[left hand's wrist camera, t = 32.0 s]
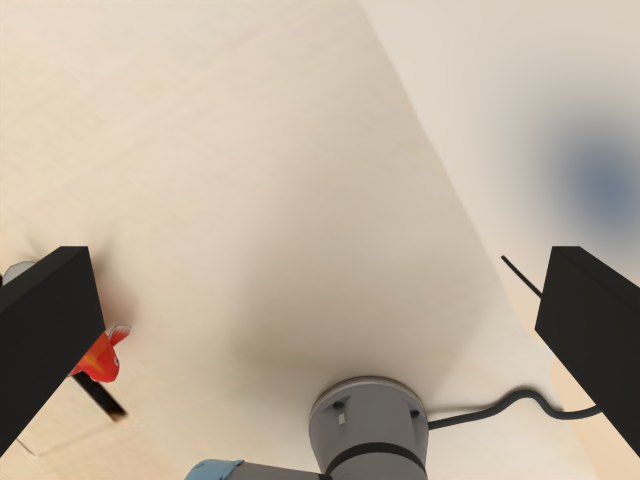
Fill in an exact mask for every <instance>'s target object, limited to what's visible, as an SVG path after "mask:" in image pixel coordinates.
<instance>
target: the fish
mask: <svg viewBox="0 0 640 480" xmlns="http://www.w3.org/2000/svg"><path fill="white" fill-rule="evenodd" d="M34 264H36V263H35V262H21V263H18V264H15V265H12V266H10V267H9V269H8V270H7V271H6V273H5V275H4V277H3V283H2V286H3V285H5V284H6V283H8V282H9V281H11V280H12V279H14V278H15V277H17V276H18V275H19V274H21V273H22V272H24V271H25V270H27V269H28V268H30V267H31V266H33V265H34ZM130 329H131V328H130V327H128V326H124V325H117V326H116V327H115V328H114V329H113V330H112V331H111V333H110V334H109V336H107V335H106V333H105V332H103V333H102V334H101V336H100V337H99V338H98V339H97V341H96V342H95V343H94V344H93V345H92V347H91V348H90V349H89V350H88V352H87V353H86V354H85V355H84V356H83V358H82V359H81V360H80V361H79V362H78V364H77V365H76V366H75V367H74V369H73V370H72V371H71V372H70V373H69V375H68V376H67V377H70V376H72V375H74V374H76V373H78V372H80V371H82V370H83V371H84V372H86V373H87V374H88V375H90V377H91V379H92V380H94V381H100V382H106V383H108V382H112V381H114V380H115V379H116V377H117V375H118V372H119V361H118V359H117V356H116V354H115V351H114V348H113V347H114V346H115V345H116V344H117V343H119V342H120V341H122V340H123V339H124V338H126V337H127V336H128V335H129V331H130ZM67 377H66V378H67Z"/></svg>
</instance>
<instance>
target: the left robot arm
mask: <svg viewBox="0 0 640 480" xmlns="http://www.w3.org/2000/svg"><path fill="white" fill-rule="evenodd" d="M501 259H502V260H503V261H504V262H505V263H506V264H507V265H508V266H509V267H510V268H511V269H512V271H513V272H514V273H515V274H516V275H517V276H518V277H519V278H520V279H521V280H522V281H523V282H524V283H525V284H526V285H527V286H528V287H529V288H530V289H531V290H532V291H533V292H534V293H535V294H536V295H537V296H538V297H539V298H540V299H541V302H540V306H539V311H538V316H537V320H536V325H535V331H536V332H537V333H538V334H539V336H540V337H541V338H542V339H543V341H544V342H545V343H546V344H547V345H548V347H549V348H550V349H551V350H552V352H553V353H554V354H555V355H556V356H557V358H558V359H559V360H560V361H561V362H562V364H563V365H564V366H565V367H566V369H567V370H568V371H569V372H570V373H571V375H572V376H573V377H574V378H575V380H576V381H577V382H578V383H579V384H580V386H581V387H582V388H583V389H584V391H585V392H586V393H587V394H588V395H589V397H590V398H591V399H592V400H593V401H594V403H595V404H596V405H595V406H593V407H591V408H588V409H585V410H580V411H574V412H557V411H555V410H553V409H552V408H551V407H550V406H549V405H548V403H547V402H546V400H545V399H544V398H543V397H542V396H541V395H540V394H539V393H537V392H535V391H532V390H520V391H517V392H514V393H512V394H511V395H509V396H508V397H506V398H505V399H504V400H503V401H501V402H500V403H499V404H497V405H496V406H494V407H492V408H489V409H486V410H483V411H479V412H475V413H469V414H464V415H459V416H454V417H450V418H445V419H441V420H436V421H432V422H428V421H427V417H426V414H425V410H424V407H423V405H422V403H421V401H420V400H419V398H418V397H417V396H416V395H415V393H414V392H412V391H411V390H410V389H409V388H407V387H406V386H404V385H402V384H401V383H398V382H396V381H394V380H391V379H387V378H382V377H358V378H353V379H349V380H346V381H343V382H341V383H339V384H337V385H335V386H333V387H331V388H330V389H328V390H327V391H326V392H325V393H324V394H323V395H322V396H321V397H320V398H319V399H318V400H317V402H316V403H315V405H314V407H313V409H312V411H311V415H310V421H309V436H310V442H311V446H312V449H313V452H314V454H315V457H316V460H317V462H318V465H319V467H320V470H321V473H322V474H318V473H313V472H306V471H299V470H292V469H286V468H279V467H273V466H267V465H260V464H254V463H248V462H245V461H244V460H237V461H225V460H214V459H208V460H204V461H201V462H200V463H198V464H197V465H196V466H194V467H193V468H192V470H191V471H190V472H189V473H188V475H187V476H186V478H185V479H184V480H428V478H427V474H426V470H425V464H426V454H427V445H428V435H429V430H432V429H437V428H441V427H446V426H451V425H455V424H459V423H464V422H469V421H475V420H480V419H484V418H487V417H490V416H493V415H496V414H498V413H500V412H501V411H503V410H504V409H506V408H507V407H508V406H510V405H511V404H512V403H513V402H515V401H517V400H519V399H521V398H533V399H535V400H536V401H537V402H538V403H539V404H540V406H541V407H542V409H543V410H544V411H545V412H546V413H547V414H548V415H549V416H551V417H553V418H556V419H561V420H573V419H582V418H586V417H590V416H593V415H596V414H598V413H601V412H603V414H604V415H605V416H606V417H607V419H608V420H609V421H610V422H611V423H612V425H613V426H614V427H615V428H616V429H617V431H618V432H619V433H620V434H621V436H622V437H623V438H624V439H625V440H626V442H627V443H628V444H629V445H630V447H631V448H632V449H633V450H634V451H635V453H636V454H637V455H638V456H639V458H640V288H639V287H638V286H636V285H635V284H634V283H632V282H631V281H629V280H628V279H626V278H625V277H623V276H622V275H620V274H619V273H618V272H616V271H615V270H613V269H612V268H610V267H609V266H607V265H606V264H604V263H603V262H602V261H600V260H599V259H597V258H596V257H594V256H593V255H591V254H590V253H588V252H587V251H586V250H584V249H583V248H581V247H580V246H553V247H552V250H551V255H550V260H549V264H548V269H547V274H546V278H545V283H544V288H543V292H542V293H541V292H540V291H539V290H538V289H537V288H536V287H535V286H534V285H533V284H532V283H531V282H530V281H529V280H528V279H527V278H526V277H525V276H524V275H523V274H522V273H521V272H520V271H519V270H518V269H517V268H516V267H515V266H514V265H513V264H512V263H511V262H510V261H509V260H508V259H507V258H506V257H505V256H504V255H502V256H501ZM104 331H105V325H104V320H103V316H102V311H101V306H100V302H99V297H98V292H97V288H96V283H95V278H94V274H93V269H92V264H91V260H90V255H89V250H88V246H60V247H59V248H57V249H56V250H54V251H53V252H52V253H50V254H49V255H47V256H46V257H44V258H43V259H41V260H40V261H38V262H37V263H36V264H34V265H33V266H31V267H30V268H28V269H27V270H25V271H24V272H22V273H21V274H19V275H18V276H17V277H15V278H14V279H12V280H11V281H9V282H8V283H6V284H5V285H3V286H2V287H1V288H0V458H1V456H2V455H3V454H4V453H5V451H6V450H7V449H8V448H9V447H10V445H11V444H12V443H13V442H14V440H15V439H16V438H17V437H18V436H19V434H20V433H21V432H22V431H23V430H24V428H25V427H26V426H27V425H28V423H29V422H30V421H31V420H32V419H33V417H34V416H35V415H36V414H37V412H38V411H39V410H40V409H41V408H42V406H43V405H44V404H45V403H46V401H47V400H48V399H49V398H50V397H51V395H52V394H53V393H54V392H55V391H56V389H57V388H58V387H59V386H60V384H61V383H62V382H63V381H64V380H65V378H66V377H67V376H68V375H69V373H70V372H71V371H72V370H73V369H74V367H75V366H76V365H77V364H78V362H79V361H80V360H81V359H82V358H83V356H84V355H85V354H86V353H87V352H88V350H89V349H90V348H91V347H92V345H93V344H94V343H95V342H96V341H97V339H98V338H99V337H100V336H101V334H102V333H103V332H104Z"/></svg>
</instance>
